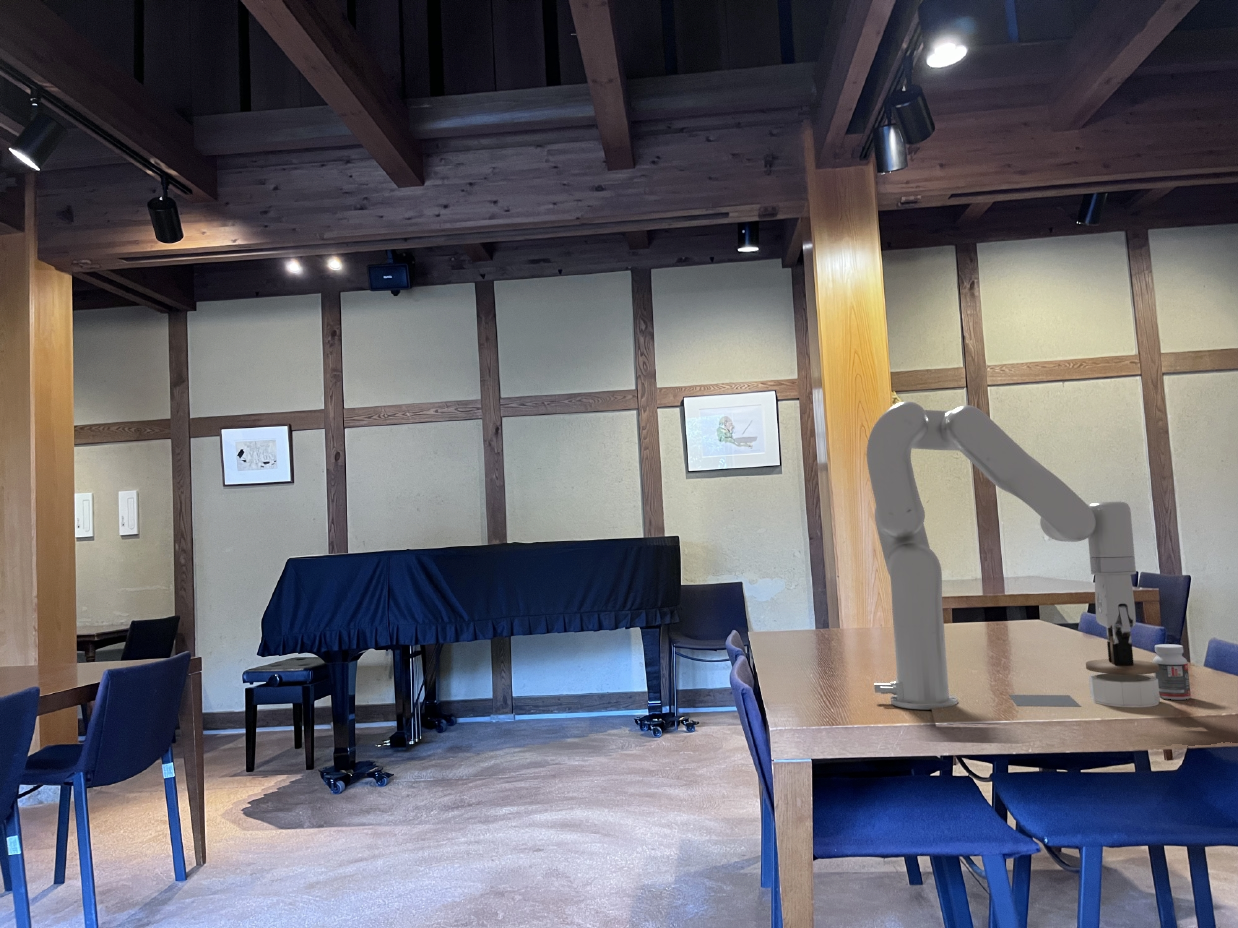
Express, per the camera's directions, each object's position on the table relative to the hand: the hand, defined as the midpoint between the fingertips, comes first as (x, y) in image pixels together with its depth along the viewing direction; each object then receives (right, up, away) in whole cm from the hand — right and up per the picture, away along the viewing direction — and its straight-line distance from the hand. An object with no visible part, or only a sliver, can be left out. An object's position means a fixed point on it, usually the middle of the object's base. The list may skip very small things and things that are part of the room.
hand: (1121, 663), depth 167 cm
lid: (0, -1, 0) cm, 1 cm away
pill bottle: (+12, -8, +3) cm, 15 cm away
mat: (-13, -9, +3) cm, 16 cm away
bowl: (0, -8, -1) cm, 8 cm away
